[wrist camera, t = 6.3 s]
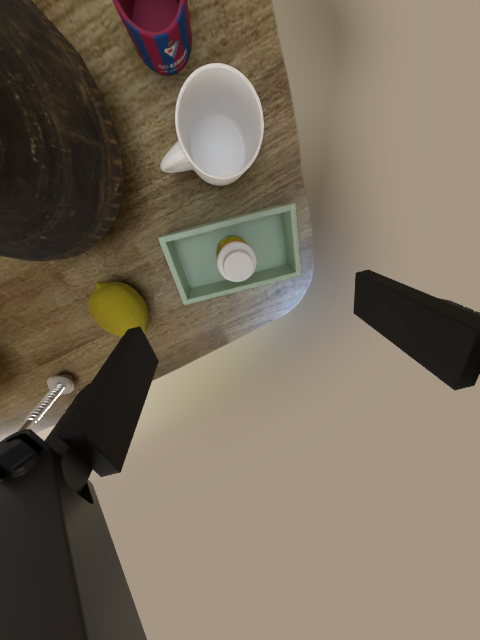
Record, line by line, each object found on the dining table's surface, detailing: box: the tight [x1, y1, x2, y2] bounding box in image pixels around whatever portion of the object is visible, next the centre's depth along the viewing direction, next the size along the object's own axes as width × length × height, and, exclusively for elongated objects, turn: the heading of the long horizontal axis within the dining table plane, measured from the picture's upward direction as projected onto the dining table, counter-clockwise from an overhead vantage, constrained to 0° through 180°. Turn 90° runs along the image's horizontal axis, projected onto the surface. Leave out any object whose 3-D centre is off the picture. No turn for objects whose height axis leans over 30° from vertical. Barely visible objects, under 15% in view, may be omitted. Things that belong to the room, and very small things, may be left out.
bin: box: [158, 203, 301, 305], centre depth 34 cm, size 20×11×6 cm, turn 103°
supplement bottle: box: [216, 235, 257, 282], centre depth 32 cm, size 6×6×10 cm
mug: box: [161, 63, 264, 186], centre depth 26 cm, size 9×12×11 cm
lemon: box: [88, 282, 148, 337], centre depth 35 cm, size 11×8×8 cm
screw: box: [18, 374, 75, 431], centre depth 40 cm, size 13×5×5 cm
